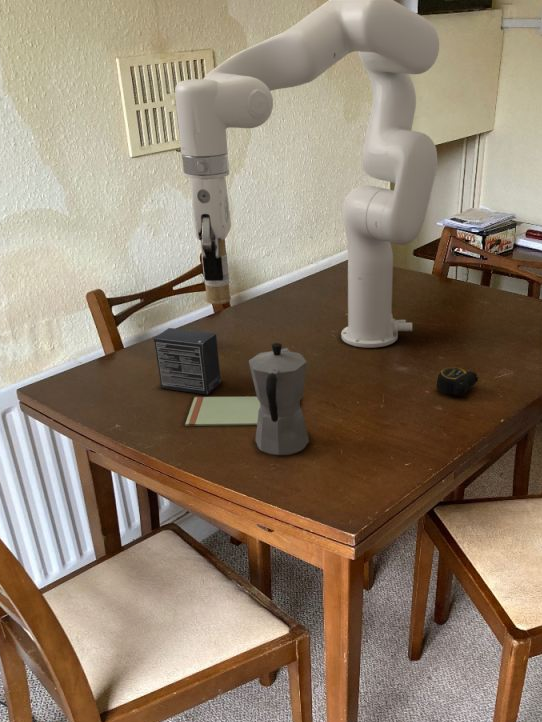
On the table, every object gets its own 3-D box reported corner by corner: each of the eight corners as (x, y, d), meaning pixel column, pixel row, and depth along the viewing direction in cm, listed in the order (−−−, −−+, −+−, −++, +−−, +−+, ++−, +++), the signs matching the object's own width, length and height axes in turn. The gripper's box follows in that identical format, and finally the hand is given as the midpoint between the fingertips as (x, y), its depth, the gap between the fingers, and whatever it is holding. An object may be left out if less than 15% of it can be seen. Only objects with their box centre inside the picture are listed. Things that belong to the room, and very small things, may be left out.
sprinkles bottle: (222, 295, 142) (215, 220, 135) (235, 301, 140) (229, 225, 132) (201, 300, 140) (193, 224, 133) (214, 307, 137) (206, 229, 130)
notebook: (299, 397, 147) (299, 395, 146) (296, 424, 137) (296, 422, 137) (194, 398, 147) (194, 396, 146) (185, 426, 138) (185, 423, 137)
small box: (223, 382, 153) (218, 331, 147) (208, 396, 148) (202, 344, 142) (176, 375, 156) (169, 325, 150) (159, 388, 151) (151, 337, 145)
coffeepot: (260, 424, 138) (253, 327, 128) (313, 425, 137) (310, 328, 127) (246, 468, 125) (237, 365, 115) (304, 470, 124) (300, 366, 114)
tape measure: (462, 402, 144) (463, 383, 142) (429, 393, 147) (430, 375, 145) (477, 388, 149) (479, 370, 147) (445, 380, 152) (447, 363, 150)
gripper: (221, 175, 120) (231, 290, 130) (234, 156, 134) (242, 262, 144) (173, 175, 120) (187, 291, 130) (191, 156, 134) (203, 262, 144)
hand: (216, 274), depth 137 cm, fingers closed on sprinkles bottle, 4 cm apart
